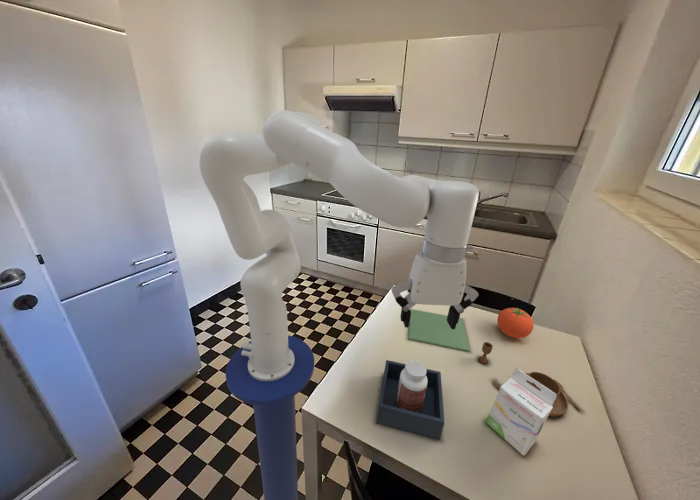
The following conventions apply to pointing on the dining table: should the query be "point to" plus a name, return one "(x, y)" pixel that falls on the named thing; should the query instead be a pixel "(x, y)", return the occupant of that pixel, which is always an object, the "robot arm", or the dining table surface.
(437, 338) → the mat
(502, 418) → the ink box
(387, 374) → the blue open box
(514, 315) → the tomato
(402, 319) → the robot arm
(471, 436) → the dining table surface
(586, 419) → the dining table surface
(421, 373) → the pill bottle
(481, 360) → the place setting
